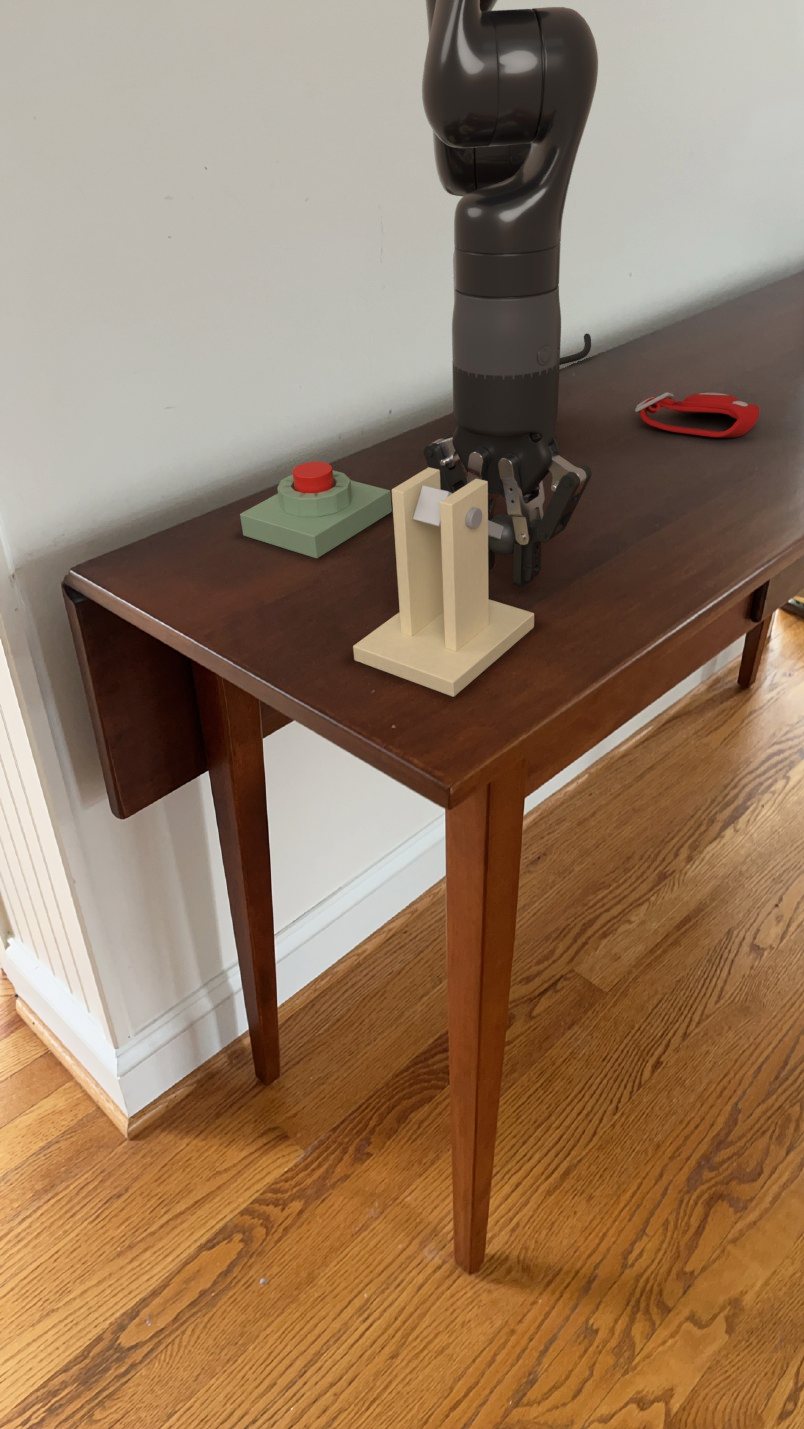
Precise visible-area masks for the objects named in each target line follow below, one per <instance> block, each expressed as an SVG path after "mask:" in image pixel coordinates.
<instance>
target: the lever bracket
mask: <svg viewBox="0 0 804 1429" xmlns="http://www.w3.org/2000/svg"><path fill="white" fill-rule="evenodd" d="M423 485H424V486H428V487H432V488H436V489H440V470H438V469H434V468H430V467H428V466H427V468H425V469H423V470H422V471H420V472H418V473H416V474H415V475H413V476H412V477H410V478H409V479H406V480H405V481H403V482H402V483H400V484H399V485H396V486H395V487H393V488H392V489H391V504H392V517H393V530H394V532H393V533H394V544H395V545H394V546H395V547H394V548H395V558H396V559H395V560H396V576H397V592H398V605H399V606H398V607H399V612H397V613H396V614H394V615H393V616H392V617H391V618H389V619H388V620H387V621H385V622H384V623H382V624H381V625H379V626H378V627H376V628H375V629H374V630H373V631H371V632H370V633H369V634H367V635H366V636H365V637H363V638H362V639H361V640H359V641H358V642H357V643H355V644H353V646H352V650H353V660H354V661H355V662H358V663H361V664H363V665H366V666H369V667H372V668H373V669H377V670H380V671H382V672H385V673H388V674H389V675H390V674H391V675H393V676H396V677H398V678H401V679H404V680H407V681H409V682H412V683H415V684H417V685H420V686H423V687H426V688H428V689H431V690H433V691H436V692H439V693H442V694H444V695H447V696H449V697H452V698H454V697H456V696H457V695H458V694H459V693H460V692H461V691H463V690H464V689H465V688H466V687H467V686H468V685H469V684H471V683H472V682H473V681H474V680H475V679H476V678H478V677H479V676H480V675H481V674H482V673H483V672H485V671H486V670H487V669H488V668H489V667H490V666H491V665H492V664H493V663H495V662H496V661H497V660H498V659H499V658H501V657H502V656H503V655H504V654H506V652H507V651H509V650H510V649H511V648H512V647H513V646H514V645H515V644H517V643H518V642H519V641H520V640H521V639H522V638H524V637H525V636H526V635H527V634H528V633H530V631H532V630H533V629H534V627H535V613H534V612H532V611H529V610H525V609H522V608H518V607H516V606H512V605H509V604H505V603H502V602H499V601H496V600H492V599H489V571H488V481H484V480H480V479H475V480H473V481H471V482H470V483H468V484H467V485H465V486H464V487H462V488H461V489H459V490H458V491H456V492H455V491H454V493H453V494H451V495H450V496H448V497H447V498H445V499H444V500H442V501H441V502H440V520H441V529H440V528H437V527H433V526H430V525H427V524H425V523H422V522H419V521H416V520H414V519H413V517H414V514H415V510H416V507H417V503H418V500H419V496H420V493H421V489H422V486H423ZM440 490H441V489H440Z"/></svg>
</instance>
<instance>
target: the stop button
mask: <svg viewBox="0 0 804 1429" xmlns="http://www.w3.org/2000/svg"><path fill="white" fill-rule="evenodd" d="M333 471H334V470H333V467H332V465H331V464H329V463H327V462H324V461H309V462H304V463H301V464H299V465H296V466H295V467H293V469H292V474H293V480H294V487H295V491H297V492H301V493H320V492H324V491H328V490H330V489H331V488H333V487H334V480H333Z"/></svg>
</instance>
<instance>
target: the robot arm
mask: <svg viewBox="0 0 804 1429" xmlns="http://www.w3.org/2000/svg"><path fill="white" fill-rule="evenodd" d="M498 1H499V0H425V9H426V10H425V11H426V17H427V20H426V21H427V34H428V43H427V48H426V54H425V60H424V64H423V70H422V80H421V100H422V106H423V111H424V114H425V117H426V119H427V122H428V124H429V126H430V128H431V130H432V142H433V143H432V144H433V155H434V162H435V167H436V173H437V176H438V180H439V182H440V185H441V186H442V189H443V190H444V192H446V193H447V194H449V195H452V196H456V197H461V198H460V199H459V200H458V202H457V204H456V207H455V210H454V217H453V245H454V246H453V253H452V256H453V257H452V264H453V265H452V269H453V270H452V272H453V273H452V274H453V309H452V319H451V350H452V351H451V352H452V353H451V354H452V357H451V358H452V361H451V363H452V413H453V414H452V415H453V420H454V422H455V424H456V428H455V430H454V432H453V434H452V437H451V436H448V435H446V436H443V437H441V438H439V439H437V440H435V441H433V442H431V443H430V444H428V445H427V446H425V447H424V448H423V456H424V458H425V461H426V464H427V468H428V467H430V468H434V469H438V470H440V489H441V490H444V491H448V492H451V493H454V492H456V491H458V490H459V489H461V488H462V487H464V486H465V485H467V484H468V483H470V482H471V481H473V480H475V479H480V480H484V481H488V520H490V519H492V518H493V517H494V514H495V508H496V502H497V498H498V497H499V495H500V496H502V497H503V498H505V506H506V511H507V514H509V515H510V516H512V519H513V526H514V532H515V538H516V542H515V543H514V553H513V555H512V556H513V562H512V564H513V565H512V567H513V568H512V584H513V585H515V586H517V587H522V588H523V587H526V586H527V585H528V584H529V583H530V582H532V581H533V580H534V578H535V577H537V576H538V575H539V574H540V572H541V569H542V565H541V562H542V543H548V542H549V541H551V540H552V539H554V538H555V537H556V536H558V535H559V534H560V533H562V532H563V531H564V530H566V528H567V526H568V524H569V522H570V520H571V518H572V516H573V514H574V512H575V510H576V508H577V506H578V504H579V502H580V500H581V498H582V496H583V494H584V493H585V490H586V488H587V486H588V483H589V482H590V480H591V478H592V474H593V473H592V468H590V466H589V465H588V464H583V463H582V464H580V465H578V466H575V465H574V464H572V463H571V462H569V461H568V460H567V459H565V458H564V457H562V456H561V455H560V454H561V450H560V447H559V444H558V442H557V440H556V435H555V430H556V425H557V421H558V420H557V419H558V413H559V393H560V392H559V390H560V366H561V365H562V366H563V365H566V364H570V363H574V362H577V361H579V360H582V359H584V358H586V357H587V356H588V355H589V353H590V352H591V349H592V338H591V337H592V336H591V335H590V333H587V332H586V333H585V334H584V335H583V342H584V346H583V349H582V350H581V351H579V352H577V353H574V354H571V355H567V356H563V357H561V341H562V338H561V337H562V313H561V312H562V311H561V302H560V272H561V271H560V270H561V246H562V245H561V244H562V243H561V242H562V225H563V218H564V213H565V212H564V211H565V206H566V201H567V196H568V192H569V187H570V186H569V185H570V183H571V179H572V174H573V169H574V166H575V162H576V159H577V156H578V152H579V150H580V149H579V148H580V145H581V142H582V139H583V136H584V133H585V129H586V125H587V123H588V119H589V116H590V113H591V109H592V106H593V102H594V97H595V93H596V89H597V82H598V76H599V54H598V49H597V44H596V40H595V37H594V34H593V32H592V29H591V27H590V25H589V24H588V22H587V21H586V19H585V17H583V16H582V15H581V13H579V12H578V11H577V10H575V9H573V8H570V7H564V6H547V7H546V6H545V7H532V8H518V9H517V8H516V9H497V10H494V7H496V4H497V2H498ZM463 466H464V467H463ZM464 468H465V470H466V472H467V477H466V473H465V470H464ZM549 473H550V474H551V478H552V479H551V484H550V485H551V486H550V491H551V492H553V495H552V497H551V498H550V501H549V503H548V505H547V507H546V509H545V512H544V509H543V508H544V507H543V506H544V503H545V500H546V497H545V488H544V483H543V482H544V481H543V480H544V479H545V477H547V476H548V474H549ZM495 562H496V553H494V552H492V551H491V550H490V549H489V548H488V572H490V571H491V570H492V569H493V568H494V566H495Z"/></svg>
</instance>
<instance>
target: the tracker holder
mask: <svg viewBox="0 0 804 1429" xmlns="http://www.w3.org/2000/svg"><path fill="white" fill-rule="evenodd" d="M674 397H675V395H674V393H671V392H668V391H667V392H664V393H662V394H660V395H658V396H655V397H654V396H652V397H651V396H650V397H647V399H644V400H642V401H641V402H640V403H638V404H637V405H636V407H635V408H634V412H635V413H638V414H639V416H640V419H641V420H642V422H644V423H646V424H647V425H648V426H650V427H654V428H657V429H659V430H663V431H667V432H671V433H677V434H685V435H693V436H702V437H708V438H721V439H723V438H725V439H727V438H728V439H729V438H730V439H731V438H739V437H742V436H744V435H747V433H748V432H749V431H751V429H752V428H753V427H754V426H755V425H756V423H757V421H758V419H759V416H760V407H759V406H758V405H757V404H755V403H754V404H753V403H747V402H746V401H742V400H740V399H738V397H736V396H733V395H730V394H726V393H722V392H721V393H720V392H701V393H692V394H689V395H688V396H686V397H685V398H684V399H683V400H675V399H674ZM661 408H665V409H667V410H671V411H675V412H680V413H681V412H683V413H688V412H691V413H711V414H712V413H714V414H715V413H716V414H724V415H727V416H729V417H731V418H733V419H736V421H735V422H734V423H733V424H732V426H730V428H728V429H726V430H723V431H721V430H713V429H703V428H695V427H688V426H681V425H680V426H679V425H673V424H666V423H663V422H660V421H657V420H654V419H652V418H651V416H649V415H648V413H650V414H656V413H657V412H658V411H660V410H661Z"/></svg>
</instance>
